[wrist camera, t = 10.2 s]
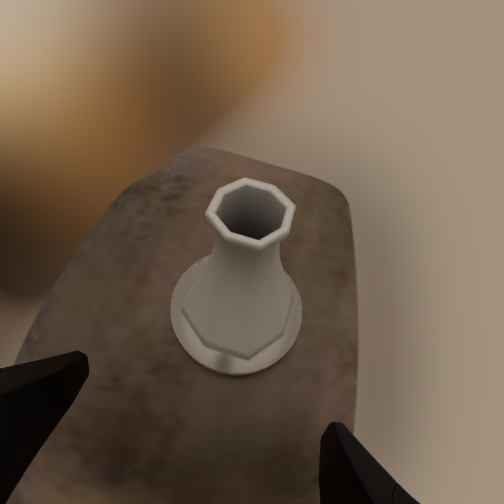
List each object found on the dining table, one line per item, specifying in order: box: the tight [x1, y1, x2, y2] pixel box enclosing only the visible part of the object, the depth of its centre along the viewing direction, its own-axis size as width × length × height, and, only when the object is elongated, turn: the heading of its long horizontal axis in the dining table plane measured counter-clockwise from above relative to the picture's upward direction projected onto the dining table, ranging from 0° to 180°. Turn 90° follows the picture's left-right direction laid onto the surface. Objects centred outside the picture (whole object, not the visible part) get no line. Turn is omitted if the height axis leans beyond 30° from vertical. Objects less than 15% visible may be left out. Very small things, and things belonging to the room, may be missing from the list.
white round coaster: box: [170, 255, 302, 376], centre depth 19 cm, size 9×9×2 cm
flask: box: [181, 177, 296, 361], centre depth 14 cm, size 7×7×10 cm
